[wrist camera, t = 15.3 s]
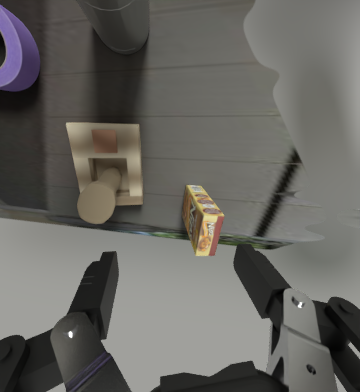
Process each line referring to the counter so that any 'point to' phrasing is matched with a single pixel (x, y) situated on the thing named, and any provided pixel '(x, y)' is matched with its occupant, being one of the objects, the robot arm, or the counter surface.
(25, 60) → the tape roll
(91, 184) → the handle
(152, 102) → the counter surface
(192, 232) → the candy box
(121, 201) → the block
